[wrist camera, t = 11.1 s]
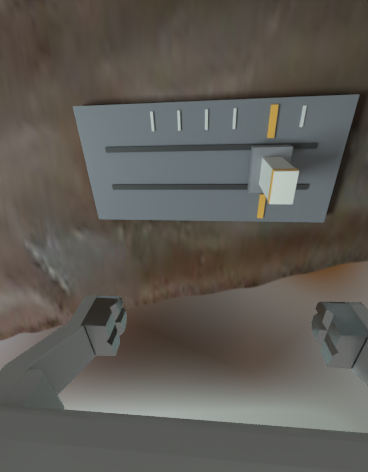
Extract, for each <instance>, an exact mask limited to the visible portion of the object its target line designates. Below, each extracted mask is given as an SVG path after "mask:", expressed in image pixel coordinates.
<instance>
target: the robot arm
mask: <svg viewBox="0 0 368 472" xmlns="http://www.w3.org/2000/svg"><path fill="white" fill-rule="evenodd" d="M123 303H124V302H123V299H122V297H117V296H93V295H87V296H86V297H85V298H84V299H83V301H82V303H81V304H80V306H79V307H78V309H77V311H76V312H75V314H74V315H73V317H72V319H71V320H70V322H69V323H68V325H64V326H62V327H61V328H59V329H58V330H56V331H55V332H53V333H52V334H50V335H49V336H47V337H46V338H44V339H43V340H42V341H40V342H38V343H37V344H36V345H34V346H33V347H31V348H30V349H28V350H27V351H25V352H24V353H22V354H21V355H19V356H18V357H16V358H15V359H13V360H12V361H11V362H9V363H8V364H6V365H5V366H4V367H3V368H2V369H1V371H0V472H368V433H357V432H345V431H332V430H320V429H307V428H295V427H282V426H269V425H257V424H243V423H231V422H217V421H205V420H192V419H180V418H167V417H154V416H141V415H128V414H115V413H102V412H90V411H76V410H64V405H63V403H62V402H61V400H60V398H59V397H58V394H59V393H60V392H61V391H62V390H63V389H64V388H65V387H66V386H67V385H68V384H69V383H70V382H71V381H72V380H73V379H74V378H75V377H76V376H77V375H78V374H79V373H80V372H81V371H82V370H83V369H84V368H85V367H86V365H88V363H90V361H91V360H92V359H93V358H94V357H95V355H100V356H101V355H103V356H115V355H116V352H117V349H118V346H119V344H120V339H119V336H120V335H121V334H122V333H123V332H124V330H125V327H126V319H127V317H126V310H125V309H123V308H122V306H123ZM316 310H317V312H318V313H317V314H316V315H314V316H313V319H312V332H313V335H314V338H315V340H316V341H317V342H318V343H320V344H321V345H322V347H321V353H322V356H323V358H324V360H325V362H326V364H327V367H334V368H346V369H352V371H353V372H354V373H355V374H356V375H357V376H358V377H359V378H360V379H361V380H363V381H364V382H365V383H366V384H367V385H368V310H367V308H366V307H365V305H364V304H362V303H361V302H319V303H318V304H317V306H316Z"/></svg>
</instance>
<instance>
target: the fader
mask: <svg viewBox="0 0 368 472" xmlns="http://www.w3.org/2000/svg"><path fill="white" fill-rule="evenodd" d="M292 151H293V146H291V145H252V148H251V158H250V168H249V178H248V192H249V193H264V195H265V196H266V198H267V200H268V204H293V200H294V195H295V190H296V185H297V180H298V175H299V169H297V168H295V167H293V166H292V165H291V164H290V162H291V156H292Z"/></svg>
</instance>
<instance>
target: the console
mask: <svg viewBox="0 0 368 472" xmlns="http://www.w3.org/2000/svg"><path fill="white" fill-rule="evenodd" d="M359 95H360V94H354V95H330V96H307V97H283V98H260V99H236V100H212V101H189V102H165V103H141V104H118V105H94V106H73V110H74V114H75V118H76V123H77V127H78V131H79V136H80V140H81V144H82V148H83V153H84V157H85V161H86V166H87V170H88V174H89V179H90V183H91V187H92V191H93V196H94V200H95V204H96V209H97V213H98V217H99V219H120V220H192V221H264V222H324V220H325V217H326V213H327V210H328V206H329V202H330V199H331V195H332V192H333V188H334V184H335V181H336V177H337V174H338V170H339V167H340V163H341V159H342V156H343V152H344V149H345V145H346V142H347V138H348V134H349V131H350V127H351V124H352V120H353V117H354V113H355V109H356V106H357V102H358V99H359ZM252 145H291V146H293V151H292V156H291V162H290V164H291V165H292V166H293V167H295V168H297V169H299V175H298V180H297V185H296V190H295V195H294V200H293V204H268V200H267V198H266V196H265V195H264V193H249V192H248V178H249V168H250V158H251V148H252Z"/></svg>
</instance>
